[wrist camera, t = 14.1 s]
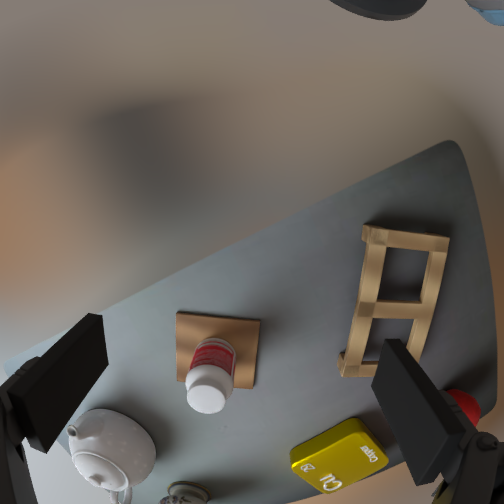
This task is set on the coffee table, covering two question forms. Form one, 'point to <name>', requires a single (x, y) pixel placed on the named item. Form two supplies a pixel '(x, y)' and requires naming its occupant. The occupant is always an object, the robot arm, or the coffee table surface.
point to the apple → (467, 404)
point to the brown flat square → (229, 329)
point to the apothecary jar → (186, 494)
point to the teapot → (111, 451)
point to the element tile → (338, 456)
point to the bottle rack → (382, 308)
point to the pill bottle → (211, 375)
